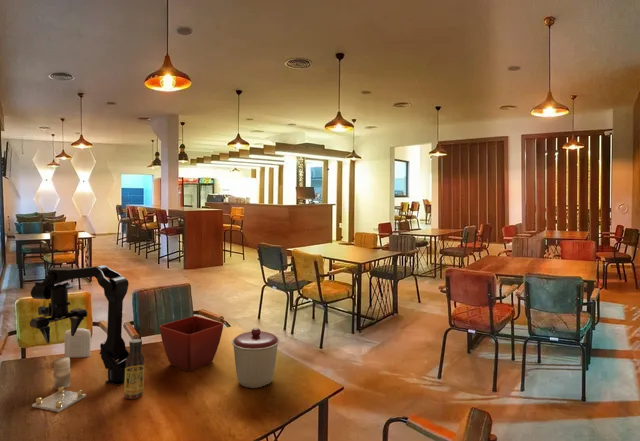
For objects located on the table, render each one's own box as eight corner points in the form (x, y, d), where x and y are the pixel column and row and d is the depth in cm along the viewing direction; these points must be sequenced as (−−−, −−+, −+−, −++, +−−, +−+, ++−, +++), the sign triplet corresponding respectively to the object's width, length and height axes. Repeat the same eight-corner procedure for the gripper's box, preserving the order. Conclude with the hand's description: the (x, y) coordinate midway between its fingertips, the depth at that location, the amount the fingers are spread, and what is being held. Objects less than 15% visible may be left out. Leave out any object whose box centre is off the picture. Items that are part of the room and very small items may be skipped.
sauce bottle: (124, 401, 140) (124, 345, 139) (123, 393, 145) (123, 339, 144) (145, 397, 143) (145, 342, 142) (143, 390, 148) (143, 336, 147)
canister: (242, 370, 167) (242, 319, 166) (284, 374, 163) (285, 323, 162) (223, 390, 149) (223, 333, 148) (270, 396, 146) (270, 338, 145)
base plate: (86, 396, 143) (86, 389, 143) (58, 412, 132) (58, 404, 132) (61, 391, 146) (61, 385, 146) (32, 406, 135) (32, 399, 135)
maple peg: (73, 384, 152) (73, 358, 151) (61, 390, 147) (61, 363, 146) (62, 382, 153) (62, 356, 153) (50, 388, 148) (50, 361, 148)
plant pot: (224, 361, 176) (224, 322, 175) (188, 377, 160) (188, 335, 159) (194, 351, 186) (194, 315, 185) (158, 365, 170) (158, 325, 169)
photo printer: (92, 354, 181) (92, 326, 180) (88, 357, 176) (88, 329, 176) (67, 354, 179) (67, 327, 179) (62, 358, 175) (62, 330, 174)
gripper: (72, 292, 171) (73, 329, 171) (21, 302, 154) (23, 342, 155) (87, 296, 165) (88, 334, 166) (37, 306, 149) (38, 348, 150)
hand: (60, 339), depth 159 cm, fingers open, 9 cm apart
